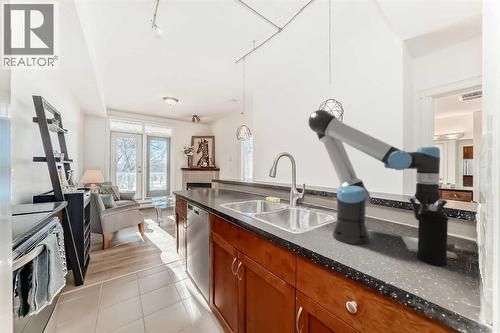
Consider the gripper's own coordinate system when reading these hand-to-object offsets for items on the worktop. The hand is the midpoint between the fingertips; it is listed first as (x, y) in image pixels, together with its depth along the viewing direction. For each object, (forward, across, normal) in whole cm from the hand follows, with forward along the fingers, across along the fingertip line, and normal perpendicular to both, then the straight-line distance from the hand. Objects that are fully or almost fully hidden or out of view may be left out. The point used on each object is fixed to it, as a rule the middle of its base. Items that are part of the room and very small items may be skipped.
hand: (425, 237), depth 90 cm
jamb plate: (+2, -5, -6) cm, 8 cm away
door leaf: (+2, +2, -6) cm, 7 cm away
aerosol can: (+3, -4, -20) cm, 21 cm away
